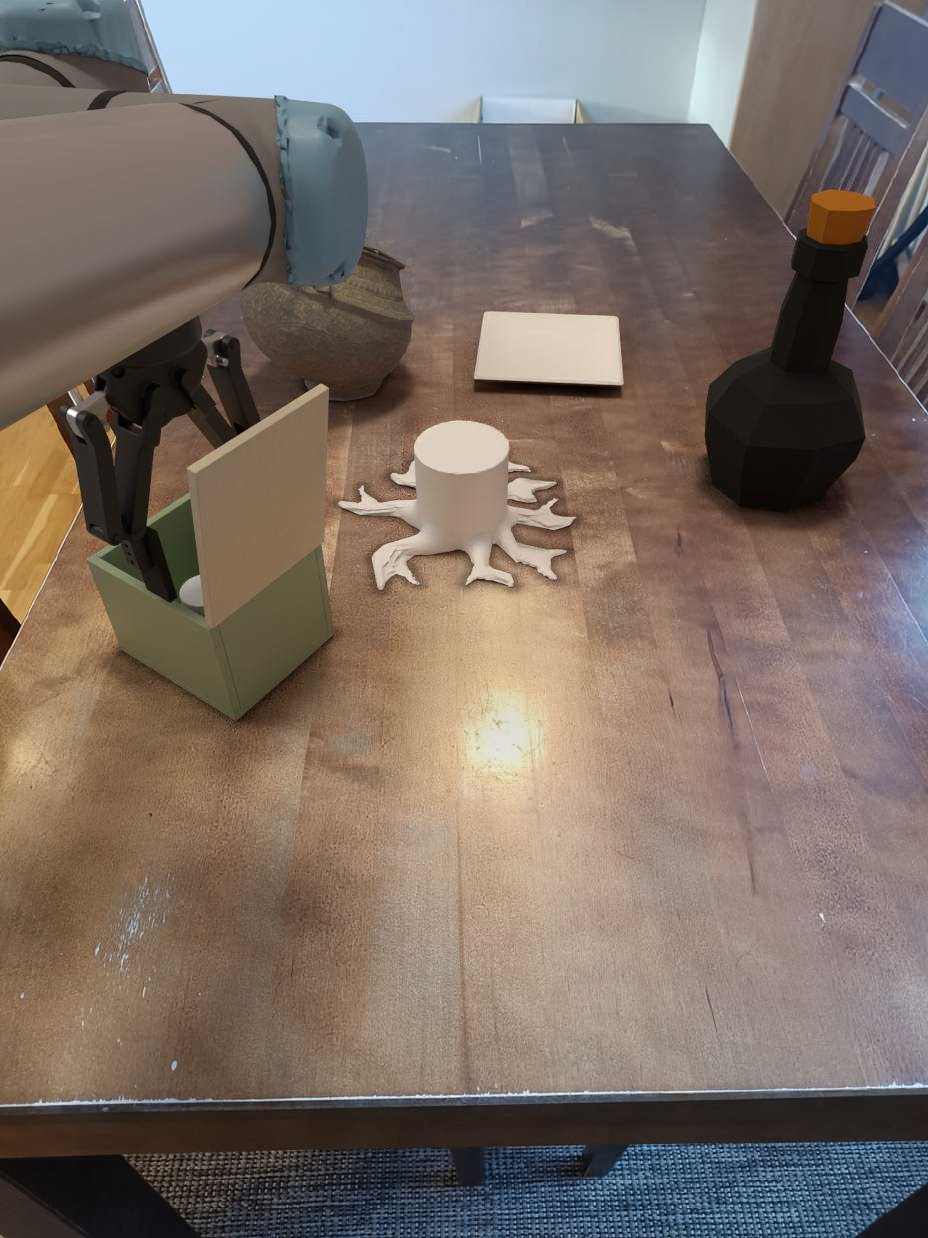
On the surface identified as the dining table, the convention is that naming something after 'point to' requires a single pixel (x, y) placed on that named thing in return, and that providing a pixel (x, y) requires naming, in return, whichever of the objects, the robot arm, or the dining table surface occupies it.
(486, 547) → the white tree stump
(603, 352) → the plate
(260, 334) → the pot
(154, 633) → the box
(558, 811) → the dining table surface
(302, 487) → the lid
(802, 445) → the bottle
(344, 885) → the dining table surface
